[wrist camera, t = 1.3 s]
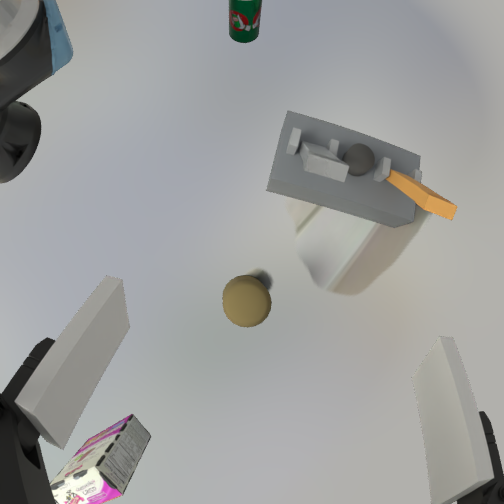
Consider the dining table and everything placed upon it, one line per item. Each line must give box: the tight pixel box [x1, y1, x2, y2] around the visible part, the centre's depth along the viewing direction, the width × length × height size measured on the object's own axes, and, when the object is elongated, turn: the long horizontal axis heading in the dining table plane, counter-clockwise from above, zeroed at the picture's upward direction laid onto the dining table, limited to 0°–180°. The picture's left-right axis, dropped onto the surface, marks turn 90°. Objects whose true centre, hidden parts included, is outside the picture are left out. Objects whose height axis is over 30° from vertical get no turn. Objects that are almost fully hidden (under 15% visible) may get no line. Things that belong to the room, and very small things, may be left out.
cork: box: [223, 275, 272, 327], centre depth 39 cm, size 6×6×11 cm
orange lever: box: [386, 169, 457, 220], centre depth 33 cm, size 2×4×14 cm, turn 74°
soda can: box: [229, 0, 262, 43], centre depth 41 cm, size 5×5×12 cm
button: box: [342, 143, 375, 176], centre depth 38 cm, size 4×4×2 cm
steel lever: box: [298, 141, 349, 182], centre depth 33 cm, size 2×4×14 cm
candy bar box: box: [50, 414, 151, 504], centre depth 33 cm, size 11×5×16 cm, turn 126°
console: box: [266, 111, 422, 228], centre depth 42 cm, size 10×20×9 cm, turn 76°
